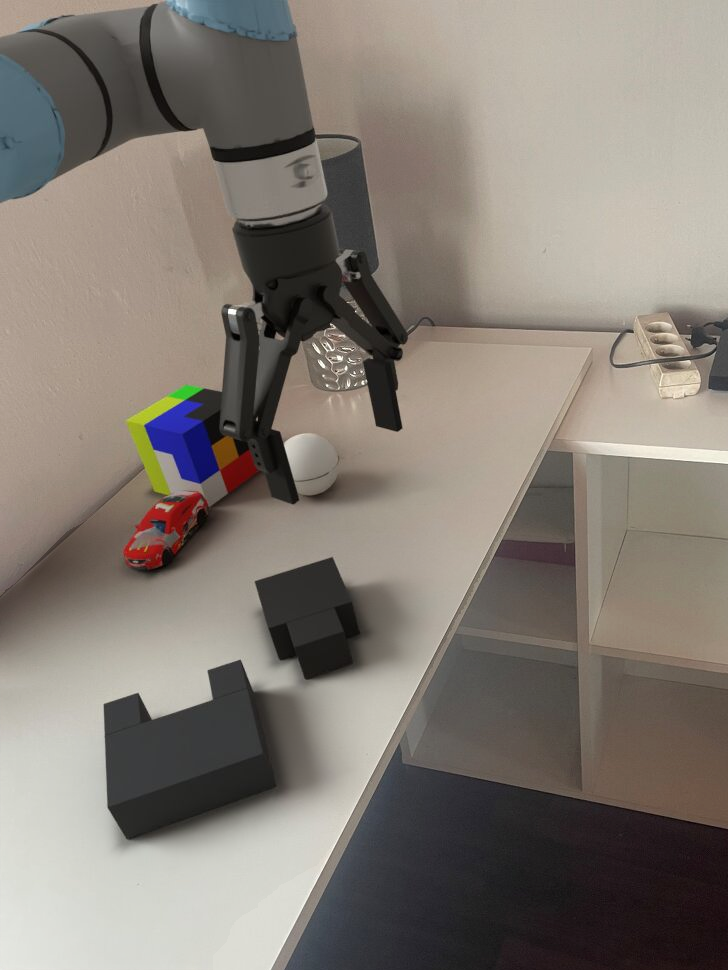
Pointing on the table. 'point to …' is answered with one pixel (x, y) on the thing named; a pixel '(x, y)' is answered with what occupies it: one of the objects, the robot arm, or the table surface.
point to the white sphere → (312, 463)
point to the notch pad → (184, 755)
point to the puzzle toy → (190, 445)
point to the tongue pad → (310, 616)
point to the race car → (165, 529)
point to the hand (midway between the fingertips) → (340, 461)
